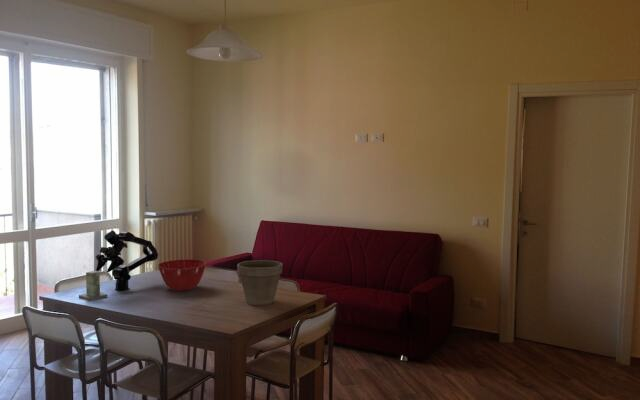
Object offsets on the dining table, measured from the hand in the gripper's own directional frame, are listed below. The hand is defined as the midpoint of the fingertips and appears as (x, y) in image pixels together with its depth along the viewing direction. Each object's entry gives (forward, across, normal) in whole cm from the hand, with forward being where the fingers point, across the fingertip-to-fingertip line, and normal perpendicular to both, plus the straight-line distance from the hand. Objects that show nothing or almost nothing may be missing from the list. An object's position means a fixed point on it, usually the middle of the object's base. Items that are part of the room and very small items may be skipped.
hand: (101, 271), depth 318 cm
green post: (+13, 0, +4) cm, 14 cm away
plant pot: (-12, +87, +36) cm, 95 cm away
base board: (+14, 0, +5) cm, 15 cm away
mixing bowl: (-14, +27, +36) cm, 48 cm away
